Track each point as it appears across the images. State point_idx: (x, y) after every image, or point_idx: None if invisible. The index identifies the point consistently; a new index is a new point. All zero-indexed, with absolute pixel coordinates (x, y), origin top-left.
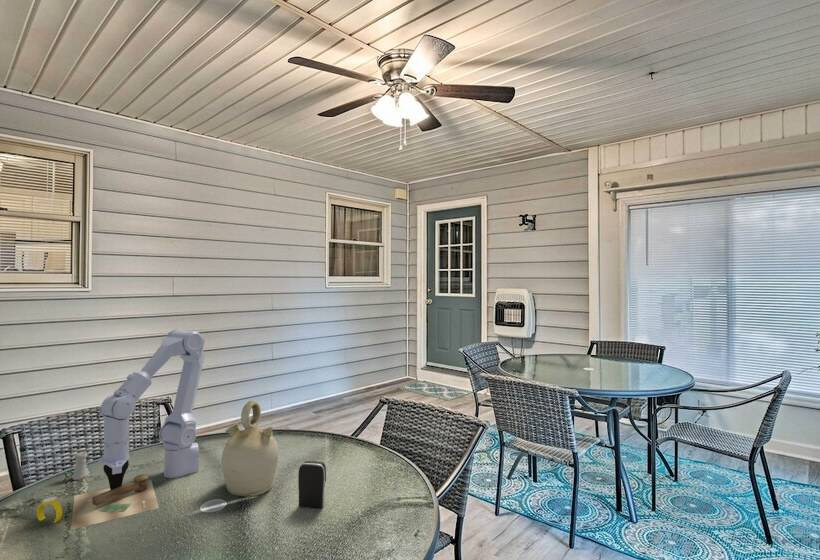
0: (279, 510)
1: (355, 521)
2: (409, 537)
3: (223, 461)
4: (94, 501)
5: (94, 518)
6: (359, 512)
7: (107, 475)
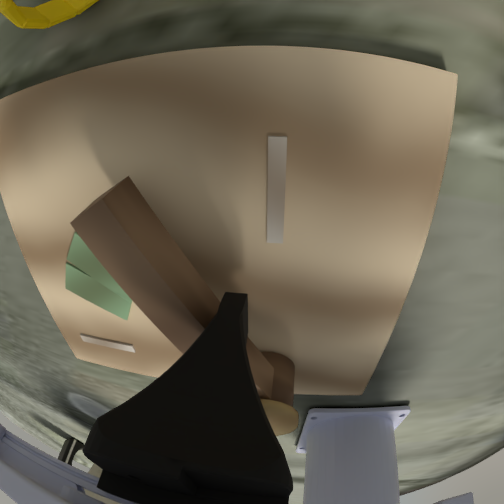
0: (65, 427)
1: (41, 431)
2: (20, 425)
3: (105, 501)
4: (98, 199)
5: (31, 184)
6: (58, 442)
7: (133, 396)
